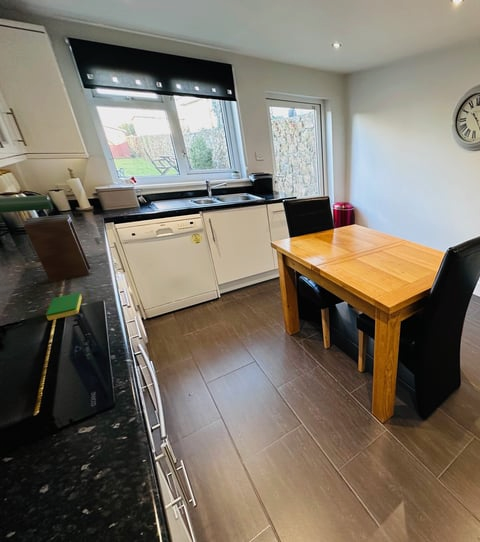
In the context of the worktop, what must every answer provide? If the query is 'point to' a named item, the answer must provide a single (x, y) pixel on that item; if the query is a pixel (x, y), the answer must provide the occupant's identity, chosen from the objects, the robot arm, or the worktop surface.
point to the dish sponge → (64, 306)
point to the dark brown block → (57, 246)
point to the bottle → (25, 203)
